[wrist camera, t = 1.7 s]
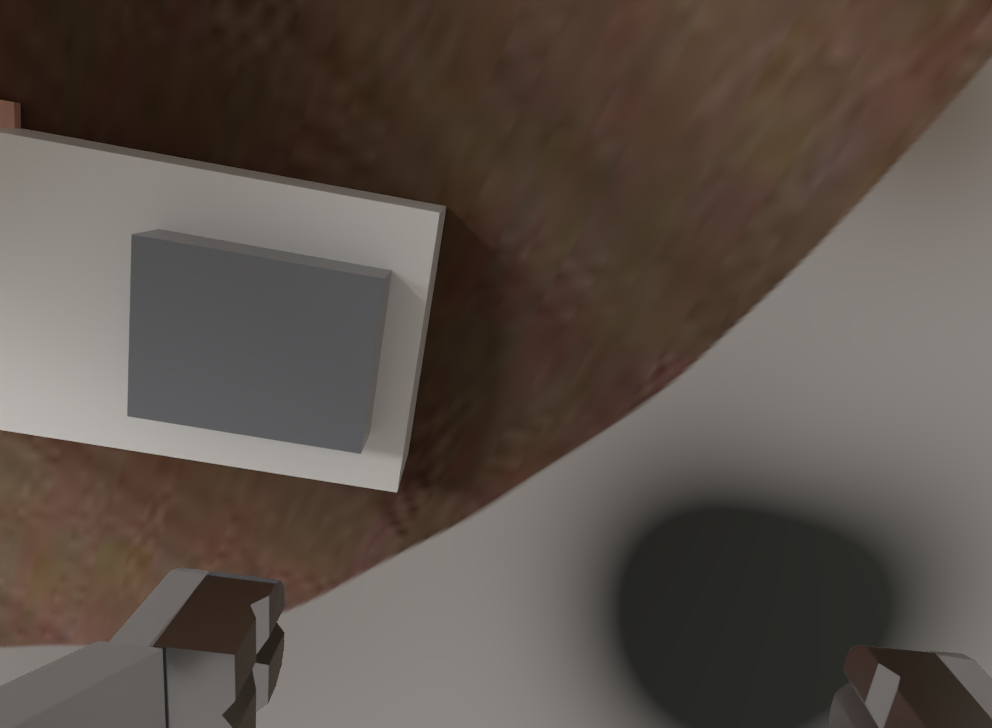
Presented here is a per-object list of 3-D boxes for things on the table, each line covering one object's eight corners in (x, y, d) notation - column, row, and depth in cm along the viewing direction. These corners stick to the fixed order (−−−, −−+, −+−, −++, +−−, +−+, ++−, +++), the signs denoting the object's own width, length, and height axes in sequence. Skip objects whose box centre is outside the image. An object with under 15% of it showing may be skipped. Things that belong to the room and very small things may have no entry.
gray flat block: (152, 398, 28) (127, 416, 26) (158, 228, 26) (131, 234, 24) (369, 434, 28) (360, 453, 26) (392, 270, 26) (384, 278, 24)
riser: (31, 393, 32) (-33, 424, 28) (25, 128, 28) (-47, 123, 25) (408, 454, 33) (397, 492, 29) (446, 206, 29) (439, 212, 26)
